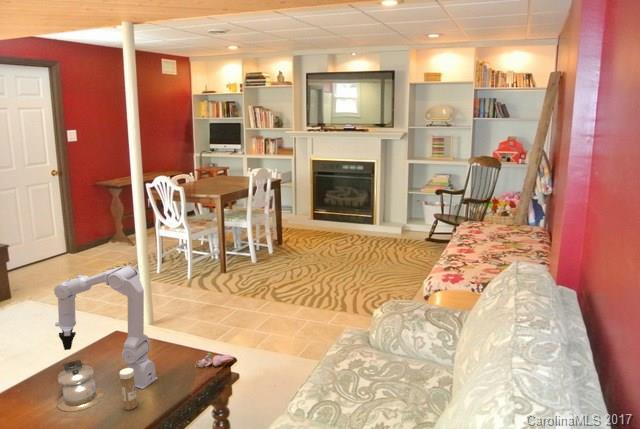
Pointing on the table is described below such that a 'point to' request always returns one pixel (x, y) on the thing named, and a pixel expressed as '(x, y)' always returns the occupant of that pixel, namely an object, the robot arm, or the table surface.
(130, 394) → the sprinkles bottle
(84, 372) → the cooker lid
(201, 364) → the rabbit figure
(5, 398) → the table surface
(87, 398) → the cooker pot
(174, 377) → the table surface
